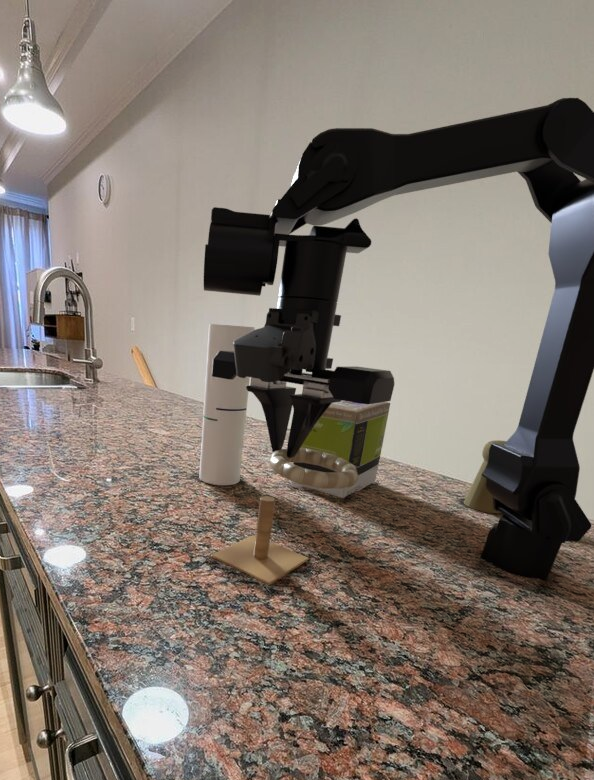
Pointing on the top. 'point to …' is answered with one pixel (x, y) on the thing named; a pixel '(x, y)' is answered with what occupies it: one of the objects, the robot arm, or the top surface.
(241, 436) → the cylindrical container
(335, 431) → the tea box
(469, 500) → the game pawn
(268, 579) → the post
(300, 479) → the bracelet
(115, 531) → the top surface
